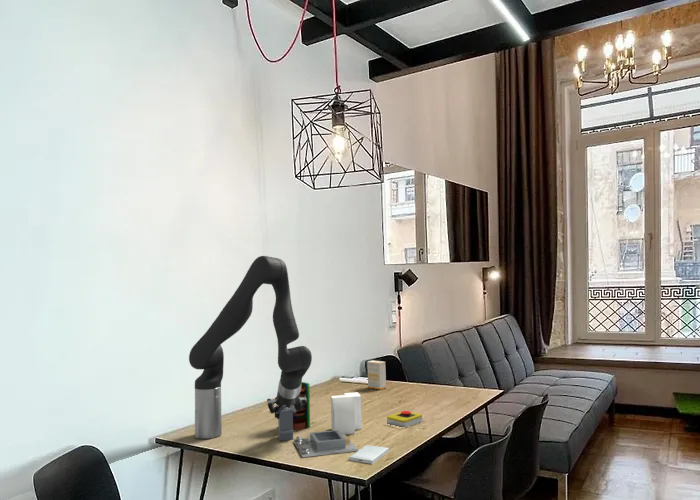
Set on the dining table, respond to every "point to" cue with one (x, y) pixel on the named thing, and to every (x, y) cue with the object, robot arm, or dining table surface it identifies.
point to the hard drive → (369, 454)
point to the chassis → (324, 444)
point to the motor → (303, 410)
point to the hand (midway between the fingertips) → (284, 415)
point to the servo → (285, 424)
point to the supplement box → (376, 374)
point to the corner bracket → (346, 413)
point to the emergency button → (404, 419)
